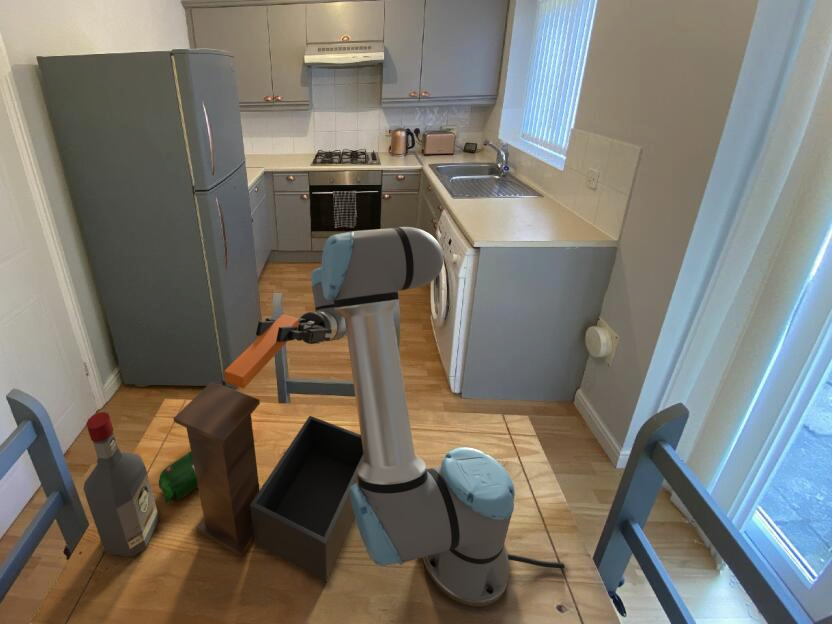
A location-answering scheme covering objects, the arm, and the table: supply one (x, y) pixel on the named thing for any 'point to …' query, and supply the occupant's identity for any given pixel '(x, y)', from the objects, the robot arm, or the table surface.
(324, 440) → the dark grey open box
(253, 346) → the orange bar
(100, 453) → the liquor
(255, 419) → the table surface
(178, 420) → the wooden pedestal column
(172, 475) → the snack package
